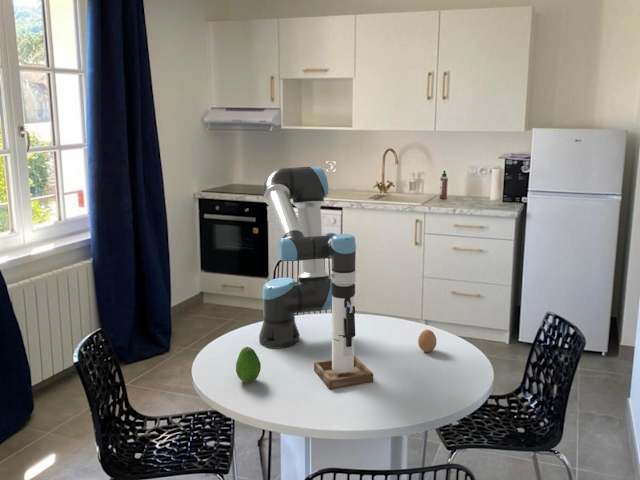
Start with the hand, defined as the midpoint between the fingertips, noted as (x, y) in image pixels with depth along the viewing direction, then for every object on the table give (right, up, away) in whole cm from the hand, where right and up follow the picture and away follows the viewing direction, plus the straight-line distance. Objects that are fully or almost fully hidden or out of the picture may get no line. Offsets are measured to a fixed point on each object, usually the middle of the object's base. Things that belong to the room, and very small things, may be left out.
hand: (343, 350), depth 211 cm
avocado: (-31, -10, -1) cm, 32 cm away
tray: (0, -9, +2) cm, 9 cm away
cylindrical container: (0, -6, +1) cm, 6 cm away
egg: (+31, -4, +22) cm, 38 cm away
